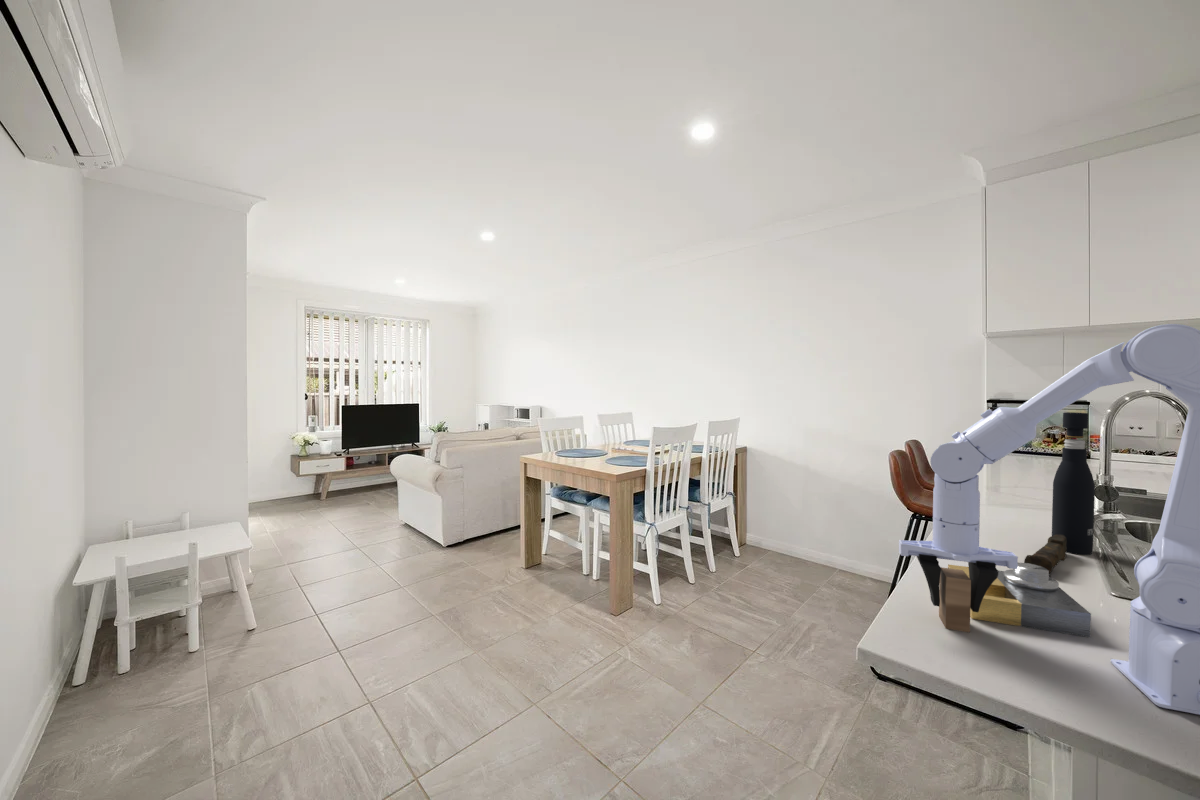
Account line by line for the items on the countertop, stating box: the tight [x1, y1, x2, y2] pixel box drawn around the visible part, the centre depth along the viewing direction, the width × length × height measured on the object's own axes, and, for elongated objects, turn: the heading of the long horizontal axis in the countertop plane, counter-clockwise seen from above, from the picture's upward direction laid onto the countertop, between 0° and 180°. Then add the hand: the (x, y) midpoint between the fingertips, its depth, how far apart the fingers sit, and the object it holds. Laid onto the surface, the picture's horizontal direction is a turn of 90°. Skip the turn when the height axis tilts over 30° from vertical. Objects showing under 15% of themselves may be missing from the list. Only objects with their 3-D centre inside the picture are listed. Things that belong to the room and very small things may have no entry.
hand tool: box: [1023, 535, 1067, 576], centre depth 95 cm, size 19×4×5 cm, turn 122°
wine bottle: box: [1051, 411, 1096, 556], centre depth 102 cm, size 6×6×30 cm
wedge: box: [938, 566, 971, 634], centre depth 72 cm, size 4×3×8 cm
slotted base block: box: [947, 562, 1092, 638], centre depth 77 cm, size 14×14×6 cm
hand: (954, 606), depth 72 cm, fingers open, 4 cm apart
